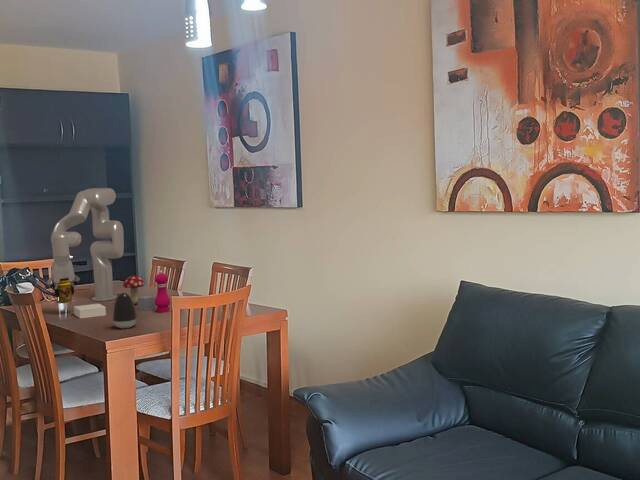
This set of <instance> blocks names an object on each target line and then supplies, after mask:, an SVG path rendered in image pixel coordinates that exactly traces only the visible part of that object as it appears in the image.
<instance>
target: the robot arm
mask: <svg viewBox="0 0 640 480" xmlns="http://www.w3.org/2000/svg"><path fill="white" fill-rule="evenodd" d="M116 198H117V195H116V191H115V190H114V189H113V188H110V187H107V188H106V187H102V188H101V187H100V188H98V187H97V188H96V187H95V188H94V187H93V188H87V189H85V190H81V191H79V192H78V193H77V194H76V196H75V199H74V201H73V203H72V206H71V208H70V210H69V213H68V214H66V215H65V216H64V217H62V218H61V219H60V220H59V221H58V222H57V223H55V226H54V228H53V230H52V233H51V235H50V236H51V237H50V242H51V246H52V256H53V257H52V259H53V262H51V270H50V271H51V272H50V274H51V277H50V278H48V280H47V281H46V283H47V285H49V286H50V287H51V288H53V290H54V296H56V297H57V298H59V290H58V284H59V283H60V279H65V278H69V281H70V283H71V292H72V296H74V294H75V286H76V285H77V284H78V283H79V281H80V280H81V278H80V276H78V275H76V274H75V270H74V266H73V262H72V259H74V256H73V255H71V254H70V248H73V247H74V248H75V247H78V246H79V245H81V242H82V235H81V234H80V233H79V232H77V231H68V230H69V229H70V228H73V227H75V226H78V225H80V224H82V223H84V222H85V221H86V220H87V218H88V215H89V214H90V213H89V212H90V210H91V214H92V215H91V216H92V232H93V233H92V234H93V236H94V237H95V239H96V238H97V239H111V240H97V241H94V242H92V243H91V245H90V248H89V249H90V250H89V251H90V256H91V259H92V267H93V268H92V269H93V282H94V283H93V285H94V286H93V287H94V296H93V297H92V298H91V300H92V301H95V302H105V301H106V302H107V301H112V300H116V298H117V296H116V295H114V284H113V283H114V282H113V267H112V264H111V262H110V261H109V260H111V259H113V260H114V259H116V260H117V259H121V258H122V257H123V255H124V249H125V246H124V245H125V241H124V236H125V235H124V227H123V223H121V221H120V220H119V221H118V220H110V211H109V209H108V207H107V206H109V205H112V204H114V202H115V201H116ZM53 283H54V284H53Z"/></svg>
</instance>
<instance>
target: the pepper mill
mask: <svg viewBox="0 0 640 480" xmlns="http://www.w3.org/2000/svg"><path fill="white" fill-rule="evenodd" d="M155 275H156V276H155V277H154V282H155V283H156V284H155V285H156V288H157V292H156V297H155V308H156V309H155V312H156V313H168V312H170V307H169V306H170V304H171V299H170V297H169V295H168V293H167V285H168V283H167V282H168V276H167V274H165V273H164V271H163V270H159V271H158V273H157V274H155Z"/></svg>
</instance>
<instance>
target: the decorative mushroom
mask: <svg viewBox="0 0 640 480" xmlns="http://www.w3.org/2000/svg"><path fill="white" fill-rule="evenodd" d="M144 286H145V280H144V279H143V278H142V277H140V276H138V275H130V276H127V277H126V278H125V280H124V281H123V283H122V287H124V288H126V289H130V297H131V299H132V301H133V304H134V306H135V305H138V297H139V290H138V289H139V288H141V287H142V288H143V287H144Z"/></svg>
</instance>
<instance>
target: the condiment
mask: <svg viewBox="0 0 640 480" xmlns="http://www.w3.org/2000/svg"><path fill="white" fill-rule="evenodd" d="M57 288H58V290H59V297H58V300H57V301H54V302H53V304H65V305H66V304H70V303H73V302H75V301H76V299H73V295H72V292H71V283H70V281H69V278H65V279H60V283H59V284H58V287H57Z"/></svg>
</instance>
